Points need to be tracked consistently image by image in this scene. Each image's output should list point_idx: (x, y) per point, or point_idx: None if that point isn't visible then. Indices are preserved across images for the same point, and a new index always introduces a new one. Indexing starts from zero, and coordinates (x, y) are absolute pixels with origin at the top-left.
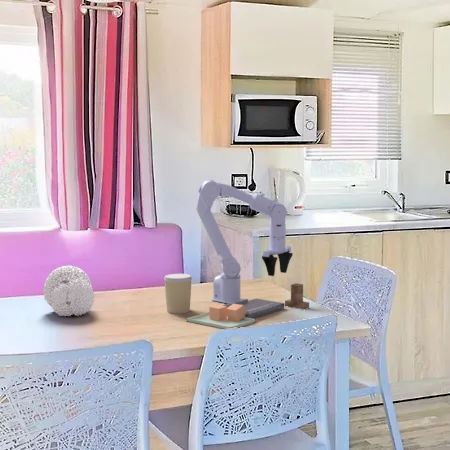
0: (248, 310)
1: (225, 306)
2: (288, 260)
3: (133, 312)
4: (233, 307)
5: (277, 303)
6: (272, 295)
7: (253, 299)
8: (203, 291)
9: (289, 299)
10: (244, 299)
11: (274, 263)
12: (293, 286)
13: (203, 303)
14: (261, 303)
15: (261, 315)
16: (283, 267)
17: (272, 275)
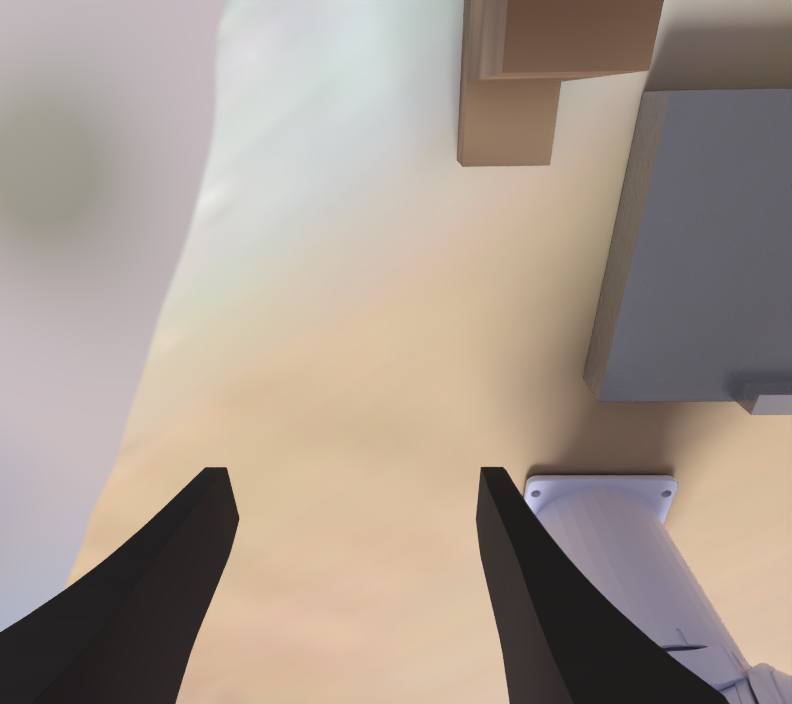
0: None
1: None
2: (91, 605)
3: None
4: None
5: (712, 144)
6: (284, 438)
7: (642, 397)
8: (457, 689)
9: (470, 164)
10: (785, 406)
11: (585, 613)
12: (652, 10)
13: (707, 582)
14: (767, 267)
15: None
16: (204, 545)
17: (507, 476)
